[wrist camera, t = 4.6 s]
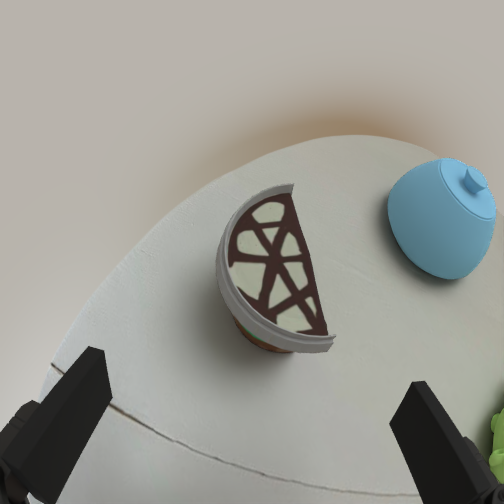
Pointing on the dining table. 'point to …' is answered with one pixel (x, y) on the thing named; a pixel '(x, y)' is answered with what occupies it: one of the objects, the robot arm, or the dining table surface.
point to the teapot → (498, 447)
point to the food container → (271, 276)
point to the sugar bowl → (443, 217)
